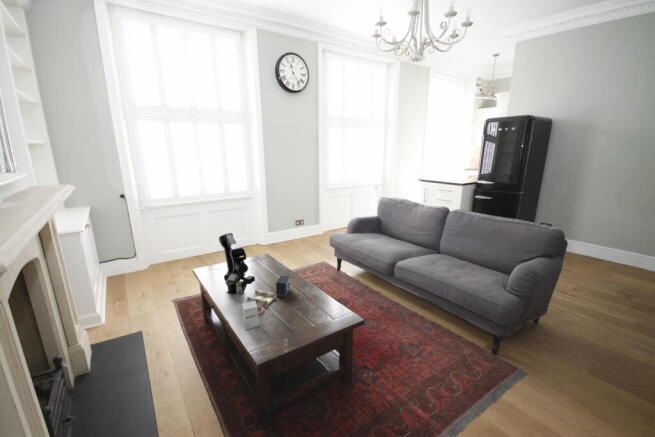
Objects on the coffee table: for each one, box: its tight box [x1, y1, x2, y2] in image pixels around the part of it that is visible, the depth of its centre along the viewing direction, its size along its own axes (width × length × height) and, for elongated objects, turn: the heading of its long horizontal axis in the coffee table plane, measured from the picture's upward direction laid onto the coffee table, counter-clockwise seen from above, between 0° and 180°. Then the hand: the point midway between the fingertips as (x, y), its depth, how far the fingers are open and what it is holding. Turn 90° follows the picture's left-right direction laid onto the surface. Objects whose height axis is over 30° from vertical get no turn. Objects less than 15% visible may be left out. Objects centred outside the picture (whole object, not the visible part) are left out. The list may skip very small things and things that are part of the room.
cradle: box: [246, 289, 277, 308], centre depth 190 cm, size 14×12×4 cm
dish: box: [257, 306, 265, 316], centre depth 178 cm, size 8×8×4 cm
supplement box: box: [241, 301, 259, 331], centre depth 164 cm, size 7×7×13 cm
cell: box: [236, 280, 245, 296], centre depth 184 cm, size 4×4×8 cm
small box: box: [275, 275, 291, 298], centre depth 198 cm, size 11×6×10 cm, turn 168°
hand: (240, 290), depth 185 cm, fingers closed on cell, 4 cm apart
